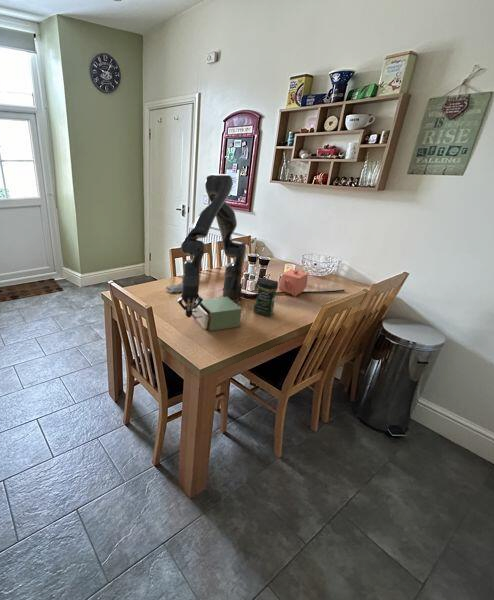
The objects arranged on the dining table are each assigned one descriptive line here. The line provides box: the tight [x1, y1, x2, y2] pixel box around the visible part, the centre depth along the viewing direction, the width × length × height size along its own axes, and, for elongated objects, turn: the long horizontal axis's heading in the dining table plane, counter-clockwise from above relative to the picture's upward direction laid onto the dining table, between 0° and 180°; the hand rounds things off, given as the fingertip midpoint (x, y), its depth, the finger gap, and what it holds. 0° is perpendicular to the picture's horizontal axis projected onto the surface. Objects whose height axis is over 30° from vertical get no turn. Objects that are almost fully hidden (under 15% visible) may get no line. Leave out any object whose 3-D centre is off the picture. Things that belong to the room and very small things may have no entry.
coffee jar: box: [253, 277, 279, 317], centre depth 169 cm, size 10×8×19 cm
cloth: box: [166, 282, 183, 294], centre depth 202 cm, size 26×14×2 cm, turn 131°
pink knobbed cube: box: [278, 269, 308, 297], centre depth 196 cm, size 22×13×14 cm, turn 134°
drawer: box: [191, 303, 211, 330], centre depth 159 cm, size 19×13×8 cm
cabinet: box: [201, 297, 243, 331], centre depth 161 cm, size 16×15×10 cm
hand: (188, 316), depth 157 cm, fingers closed
